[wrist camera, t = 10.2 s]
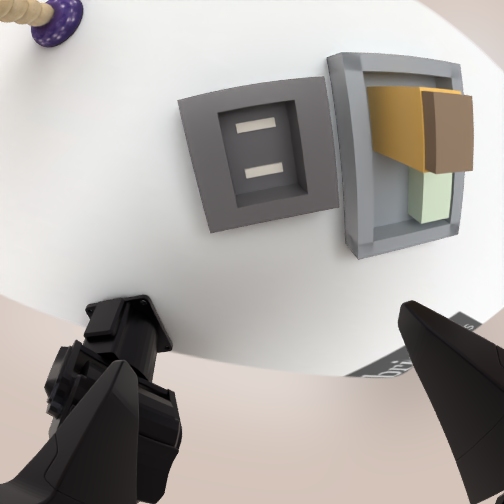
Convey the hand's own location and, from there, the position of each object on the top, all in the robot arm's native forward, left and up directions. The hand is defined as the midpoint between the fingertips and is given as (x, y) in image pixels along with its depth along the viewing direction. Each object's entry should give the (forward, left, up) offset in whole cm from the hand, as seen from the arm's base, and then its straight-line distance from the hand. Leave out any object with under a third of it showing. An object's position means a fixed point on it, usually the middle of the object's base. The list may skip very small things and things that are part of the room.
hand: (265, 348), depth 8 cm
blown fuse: (+4, -11, -12) cm, 18 cm away
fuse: (-1, -14, -12) cm, 19 cm away
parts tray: (+2, -12, -13) cm, 18 cm away
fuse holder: (+3, -2, -13) cm, 14 cm away
